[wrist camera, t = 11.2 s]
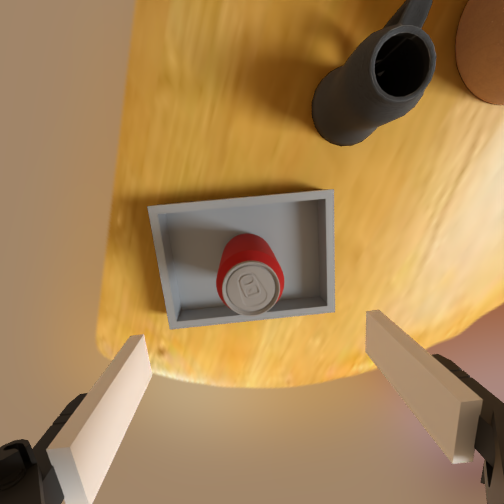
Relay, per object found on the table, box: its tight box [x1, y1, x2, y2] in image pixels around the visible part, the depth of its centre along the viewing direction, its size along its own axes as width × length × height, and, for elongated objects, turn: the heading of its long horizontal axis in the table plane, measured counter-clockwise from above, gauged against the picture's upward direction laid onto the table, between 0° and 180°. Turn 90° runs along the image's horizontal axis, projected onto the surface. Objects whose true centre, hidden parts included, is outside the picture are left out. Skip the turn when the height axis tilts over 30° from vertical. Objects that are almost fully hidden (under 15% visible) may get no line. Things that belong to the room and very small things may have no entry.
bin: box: [147, 189, 335, 329], centre depth 34 cm, size 16×22×4 cm
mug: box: [312, 0, 436, 146], centre depth 26 cm, size 12×9×11 cm
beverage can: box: [216, 233, 284, 316], centre depth 29 cm, size 7×7×12 cm
